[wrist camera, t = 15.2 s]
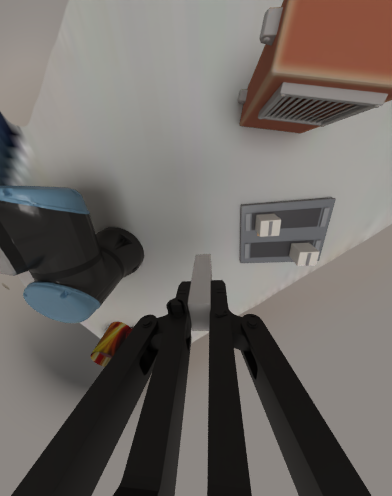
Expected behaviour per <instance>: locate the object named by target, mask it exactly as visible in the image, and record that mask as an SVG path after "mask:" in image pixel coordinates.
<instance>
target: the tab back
mask: <svg viewBox="0 0 392 496" xmlns="http://www.w3.org/2000/svg"><path fill="white" fill-rule="evenodd" d="M289 256H290V257H291V259H292V260H293V261H294V262H295V264H296V265H297V266H312V265H316V263H317V260H318V256H319V251H318V250H317V249H316V248H315V247H313V246H312V245H311V244H310V243H291V248H290V254H289Z"/></svg>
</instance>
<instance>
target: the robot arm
mask: <svg viewBox="0 0 392 496" xmlns="http://www.w3.org/2000/svg"><path fill="white" fill-rule="evenodd" d="M89 214H90V212H89V211H88V210H87V207H86V205H85V203H84V200H83V197H82V196H81V194H80V193H79V192H78V191H76V190H74V189H71V188H63V187H41V186H0V273H1V274H7V275H13V276H15V275H17V274H20V273H23V272H25V271H28V270H29V272H30V273H31V275H32V277H33V278H34V280H35V281H34V282H32V283H30V284H29V285H28V286H27V288H25V290H24V293H23V296H24V299H25V301H26V302H27V303H28V304H29V305H30V306H31V307H32V308H33V309H34V310H36V311H37V312H39V313H41V314H42V315H44V316H46V317H48V318H51V319H53V320H57V321H60V322H65V323H79V322H82V321H84V320H86V319H88V318H89V317H90V316H91V315H92V314H93V313H94V312H95V311H96V309H98V308H99V307H100V306H101V304H102V303H103V302H104V301H105V299H106V298H107V297H108V295H109V294H110V293H111V292H112V290H113V289H114V288H115V287H116V285H117V284H118V283H119V282H120V280H121V279H122V278H124V277H126V276H127V275H129V274H131V273H133V272H135V271H136V270H137V269H138V268H139V266H140V265H141V264H142V262H143V258H144V252H143V248H142V246H141V244H140V242H139V241H138V240H137V238H136V237H135V236H133V235H132V234H131V233H129V232H128V231H126V230H123V229H120V228H114V227H113V228H107V229H104V230H102V231H101V232H99V233H98V234H95V231H94V228H93V224H92V221H91V218H90V215H89ZM167 309H168V314H167V315H165V316H163V317H159V318H156V317H155V316H154V315H146V316H144V317H142V318H141V319H140V320H139V321H138V323H137V324H136V325H135V327H134V328H133V329H132V331H131V332H130V334H129V335H128V336H127V338H126V339H125V340H124V342H123V343H122V344H121V346H120V347H119V349H118V350H117V351H116V353H115V354H114V355H113V357H112V358H111V360H110V361H109V362H108V364H107V365H106V366H105V368H104V369H103V371H102V372H101V373H100V375H99V376H98V377H97V379H96V380H95V382H94V383H93V384H92V386H91V387H90V388H89V390H88V391H87V392H86V394H85V395H84V397H83V398H82V399H81V401H80V402H79V403H78V405H77V406H76V408H75V409H74V411H73V412H72V413H71V414H70V416H69V417H68V419H67V420H66V421H65V423H64V424H63V425H62V427H61V428H60V429H59V431H58V432H57V434H56V435H55V436H54V438H53V439H52V440H51V442H50V443H49V445H48V446H47V447H46V449H45V450H44V451H43V453H42V454H41V456H40V457H39V458H38V460H37V461H36V462H35V464H34V465H33V466H32V468H31V469H30V471H29V472H28V473H27V475H26V476H25V478H24V479H23V480H22V482H21V483H20V484H19V486H18V487H17V488H16V490H15V491H14V493H13V494H12V495H11V496H91V495H92V493H93V491H94V489H95V487H96V485H97V483H98V481H99V479H100V477H101V475H102V473H103V471H104V469H105V467H106V465H107V463H108V460H109V458H110V456H111V455H112V453H113V450H114V448H115V446H116V444H117V442H118V440H119V438H120V436H121V434H122V432H123V430H124V428H125V426H126V424H127V422H128V420H129V418H130V415H131V414H132V412H133V410H134V408H135V405H136V404H137V401H138V400H139V398H140V395H141V393H142V391H143V389H144V387H145V385H146V383H147V381H148V379H149V377H150V375H151V373H152V375H151V378H150V382H149V385H148V389H147V393H146V396H145V400H144V403H143V407H142V411H141V414H140V418H139V421H138V425H137V428H136V432H135V435H134V439H133V443H132V446H131V450H130V453H129V457H128V460H127V464H126V468H125V471H124V475H123V478H122V481H121V483H120V485H119V487H118V489H117V490H116V492H115V493H114V495H113V496H174V495H175V485H176V476H177V466H178V458H179V447H180V439H181V430H182V420H183V411H184V402H185V393H186V383H187V374H188V365H189V355H190V347H191V327H192V331H209V408H208V415H209V416H208V491H207V496H252V495H251V486H250V478H249V470H248V463H247V454H246V446H245V437H244V429H243V421H242V413H241V404H240V396H239V388H238V380H237V372H236V364H235V355H234V348H236V349H239V350H241V353H242V355H243V358H244V360H245V362H246V365H247V367H248V370H249V372H250V375H251V377H252V380H253V382H254V385H255V387H256V390H257V392H258V395H259V397H260V400H261V402H262V405H263V407H264V410H265V412H266V415H267V417H268V420H269V422H270V425H271V427H272V430H273V432H274V435H275V437H276V440H277V442H278V445H279V447H280V450H281V452H282V454H283V457H284V460H285V462H286V464H287V467H288V470H289V472H290V475H291V477H292V479H293V482H294V484H295V487H296V489H297V492H298V495H299V496H371V494H370V493H369V491H368V489H367V488H366V486H365V485H364V483H363V481H362V480H361V478H360V476H359V475H358V473H357V472H356V470H355V468H354V467H353V465H352V464H351V462H350V460H349V459H348V457H347V456H346V454H345V452H344V451H343V449H342V448H341V446H340V444H339V443H338V442H337V440H336V438H335V437H334V435H333V433H332V432H331V430H330V428H329V427H328V425H327V424H326V422H325V420H324V419H323V417H322V416H321V414H320V412H319V411H318V409H317V408H316V406H315V404H314V403H313V401H312V400H311V398H310V397H309V395H308V393H307V392H306V390H305V388H304V387H303V385H302V384H301V382H300V380H299V379H298V377H297V375H296V374H295V372H294V371H293V369H292V367H291V366H290V365H289V363H288V361H287V359H286V358H285V356H284V355H283V353H282V351H281V350H280V348H279V347H278V345H277V343H276V342H275V340H274V339H273V337H272V335H271V334H270V332H269V331H268V329H267V327H266V326H265V324H264V323H263V321H262V320H261V319H260V317H258V316H256V315H253V314H247V315H244V316H243V317H240V316H237V315H234V314H233V313H231V312H230V310H229V309H228V303H227V295H226V286H225V283H224V282H223V280H212V271H211V256H210V254H203V255H196V256H195V262H194V268H193V274H192V280H191V281H187V282H181V284H180V285H179V287H178V291H177V294H176V298H174V299H172V300H170V301H169V302H168V303H167Z"/></svg>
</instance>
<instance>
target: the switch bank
mask: <svg viewBox="0 0 392 496" xmlns="http://www.w3.org/2000/svg"><path fill="white" fill-rule="evenodd" d="M334 203H335V198H332V197H331V198H318V199H306V200H294V201H281V202H269V203H257V204H244V205H241V227H240V263H265V262H294V261H293V260H292V259H291V257H290V256H289V254H290V248H291V243H310V244H311V245H312V246H313V247H315V248H316V249H317V250H318V251H319V256H318V260H317V261H319V258H320V254H321V250H322V247H323V243H324V240H325V236H326V232H327V229H328V225H329V221H330V218H331V214H332V210H333V207H334ZM260 214H275V215H276V216H277V217H279V218H280V219H281V225H280V233H279V236H264V237H260V236H259V234H258V233H257V231H256V229H255V225H256V215H260Z"/></svg>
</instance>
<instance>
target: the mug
mask: <svg viewBox="0 0 392 496" xmlns="http://www.w3.org/2000/svg"><path fill="white" fill-rule="evenodd" d="M132 329H133V328H132ZM132 329H131V328H130V327H129V326H128V325H126V324H124V323H122V322H113V323H112V324H111V325H110V326H109V328H108V329H107V331H106V332H105V334H104V335H103V337H102V338H101V340H100V341H99V343H98V345H97V346H96V347H95V349H94V351H93V352H92V354H91V359H92V360H93V361H94V362H95V363H97V364H99V365H101V366H104V367H105V366H106V365H107V364H108V362H109V361H110V360H111V358H112V357H113V355H114V354H115V353H116V351H117V350H118V349H119V347H120V346H121V344H122V343H123V342H124V340H125V339H126V338H127V336H128V335H129V334H130V332H131V331H132Z"/></svg>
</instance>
